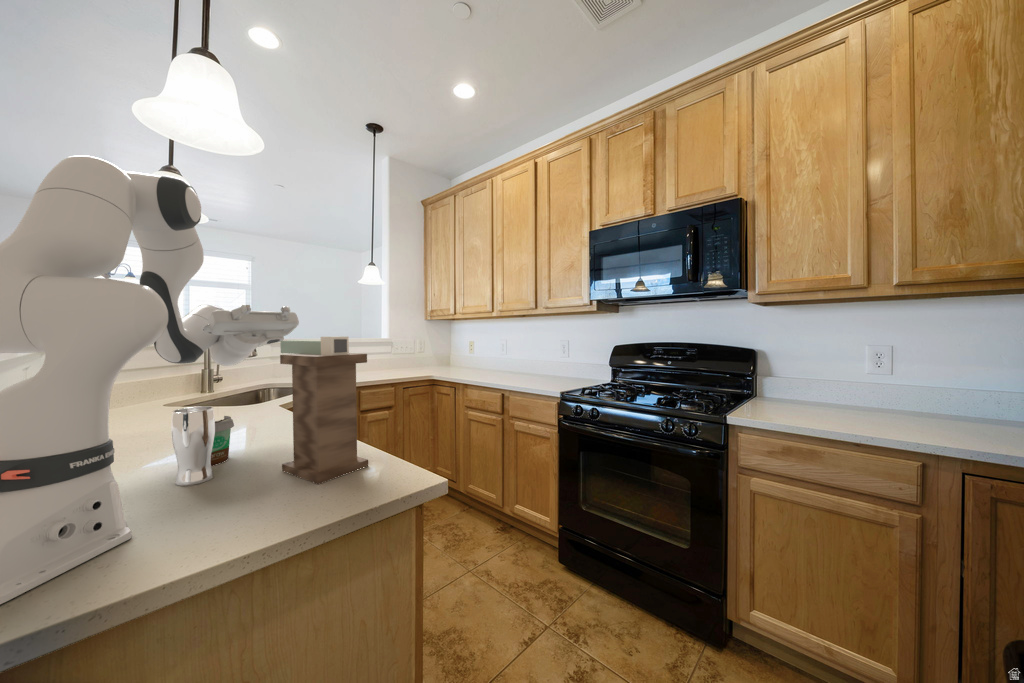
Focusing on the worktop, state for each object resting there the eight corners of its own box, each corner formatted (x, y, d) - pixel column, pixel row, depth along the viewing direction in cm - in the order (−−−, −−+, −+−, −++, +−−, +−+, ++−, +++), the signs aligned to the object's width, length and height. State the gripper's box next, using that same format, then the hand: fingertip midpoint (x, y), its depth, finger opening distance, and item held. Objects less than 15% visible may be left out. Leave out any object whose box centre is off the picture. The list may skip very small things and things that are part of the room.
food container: (197, 473, 82) (196, 428, 82) (175, 471, 84) (174, 427, 83) (247, 455, 95) (246, 416, 94) (227, 454, 96) (226, 415, 96)
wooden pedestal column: (282, 471, 84) (280, 354, 83) (332, 456, 94) (331, 352, 93) (317, 484, 76) (315, 356, 76) (368, 466, 86) (367, 353, 86)
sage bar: (278, 353, 91) (278, 336, 91) (295, 352, 95) (295, 336, 95) (332, 355, 79) (332, 336, 79) (349, 354, 83) (349, 336, 83)
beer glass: (217, 471, 83) (215, 404, 83) (214, 481, 78) (212, 409, 77) (175, 478, 80) (174, 408, 79) (169, 489, 74) (167, 414, 73)
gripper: (197, 321, 96) (217, 294, 89) (282, 322, 113) (303, 299, 106) (203, 343, 94) (222, 317, 88) (287, 341, 112) (309, 319, 105)
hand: (268, 307), depth 97 cm, fingers open, 8 cm apart
